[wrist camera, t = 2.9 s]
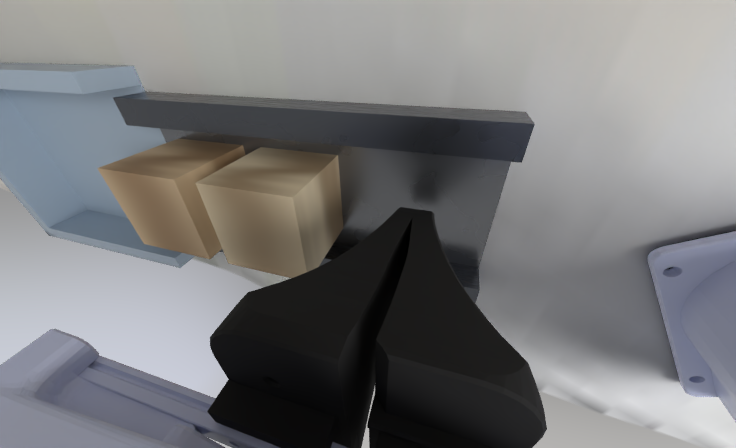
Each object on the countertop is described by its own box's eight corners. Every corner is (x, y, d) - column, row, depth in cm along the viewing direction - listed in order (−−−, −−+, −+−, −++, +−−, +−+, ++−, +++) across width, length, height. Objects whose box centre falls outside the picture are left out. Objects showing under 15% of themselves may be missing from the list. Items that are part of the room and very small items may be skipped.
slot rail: (523, 109, 10) (534, 123, 8) (473, 277, 14) (473, 307, 13) (153, 90, 14) (112, 97, 12) (210, 226, 18) (186, 244, 17)
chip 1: (242, 145, 13) (173, 179, 10) (261, 213, 16) (210, 259, 12) (178, 138, 14) (97, 168, 11) (205, 204, 17) (143, 244, 13)
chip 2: (337, 154, 12) (292, 197, 9) (343, 227, 14) (308, 281, 11) (260, 146, 13) (195, 183, 10) (277, 216, 15) (228, 263, 12)
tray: (142, 64, 13) (71, 71, 11) (215, 239, 19) (180, 267, 17) (-13, 61, 16) (-96, 66, 14) (93, 213, 22) (48, 235, 20)
